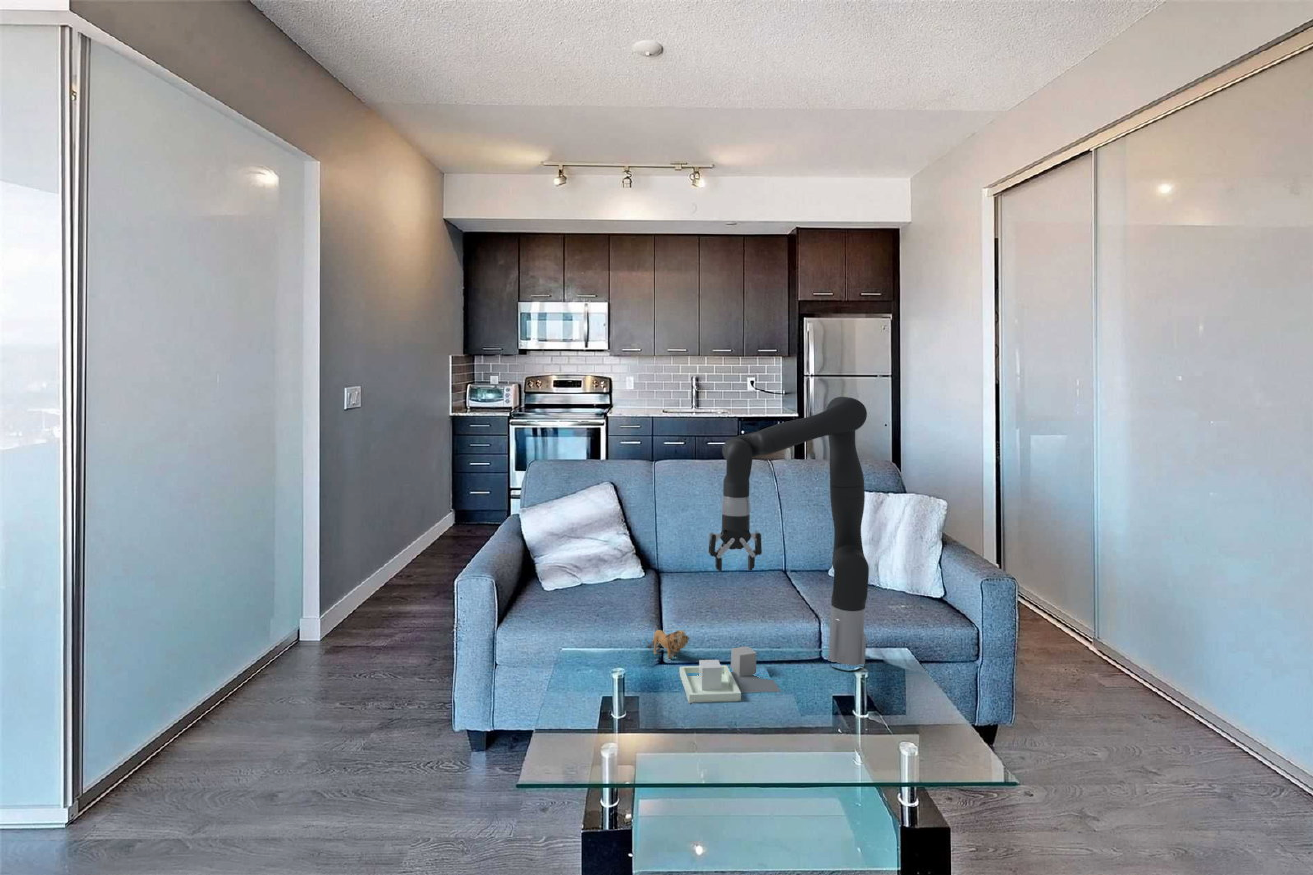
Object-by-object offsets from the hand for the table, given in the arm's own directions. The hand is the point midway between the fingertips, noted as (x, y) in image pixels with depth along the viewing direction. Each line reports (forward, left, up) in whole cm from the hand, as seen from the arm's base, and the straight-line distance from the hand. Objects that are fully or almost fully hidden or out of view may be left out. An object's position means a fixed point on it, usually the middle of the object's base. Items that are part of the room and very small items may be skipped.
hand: (734, 570), depth 211 cm
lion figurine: (+17, -8, -28) cm, 33 cm away
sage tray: (+9, +13, -27) cm, 32 cm away
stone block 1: (+9, +13, -27) cm, 31 cm away
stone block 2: (-2, +5, -27) cm, 28 cm away
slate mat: (-4, +9, -27) cm, 29 cm away
